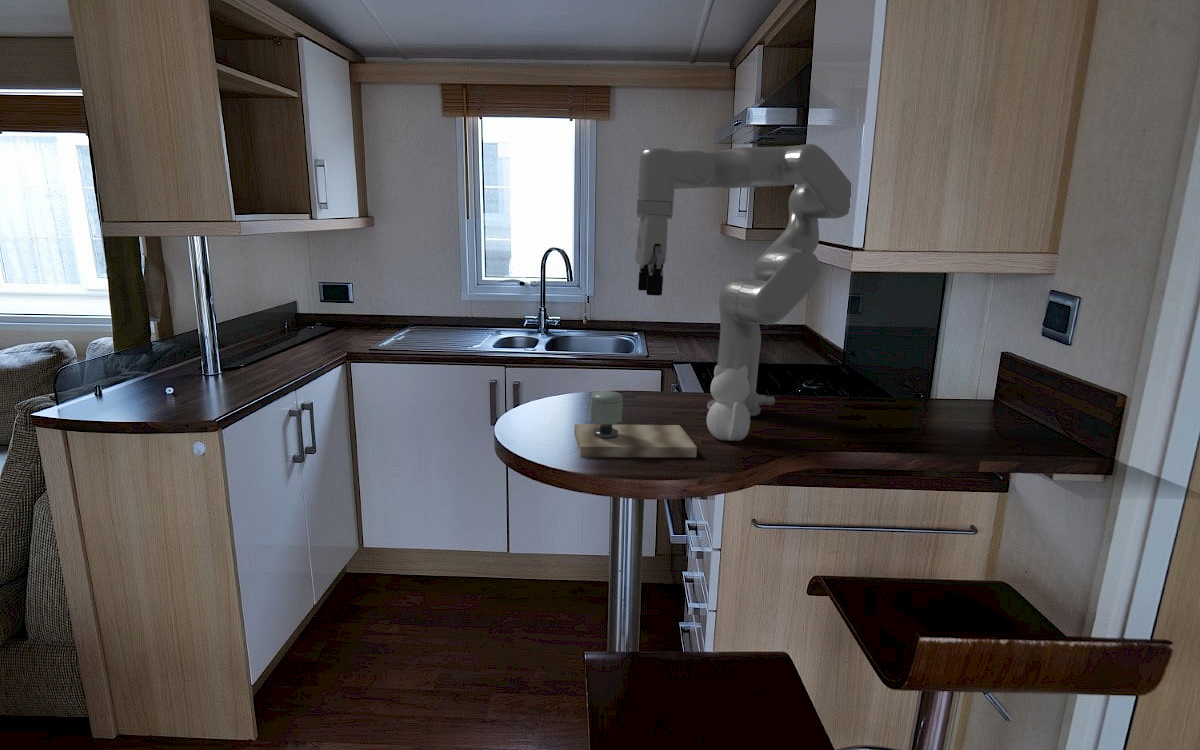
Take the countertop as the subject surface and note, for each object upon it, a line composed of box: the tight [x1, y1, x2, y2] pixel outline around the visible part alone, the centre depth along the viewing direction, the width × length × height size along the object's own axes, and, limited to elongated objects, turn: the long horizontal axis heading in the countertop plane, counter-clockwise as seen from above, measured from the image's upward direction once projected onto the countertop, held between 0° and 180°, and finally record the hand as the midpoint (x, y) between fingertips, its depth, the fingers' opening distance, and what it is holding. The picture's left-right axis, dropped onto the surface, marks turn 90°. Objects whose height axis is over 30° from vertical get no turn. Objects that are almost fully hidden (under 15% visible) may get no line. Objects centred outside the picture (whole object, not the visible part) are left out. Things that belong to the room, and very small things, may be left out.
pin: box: [593, 424, 618, 439], centre depth 129 cm, size 5×5×7 cm
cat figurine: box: [706, 364, 751, 442], centre depth 137 cm, size 9×12×15 cm
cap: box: [589, 390, 624, 425], centre depth 128 cm, size 6×6×5 cm
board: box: [574, 423, 698, 458], centre depth 131 cm, size 22×14×2 cm, turn 97°
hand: (649, 292), depth 143 cm, fingers open, 9 cm apart
